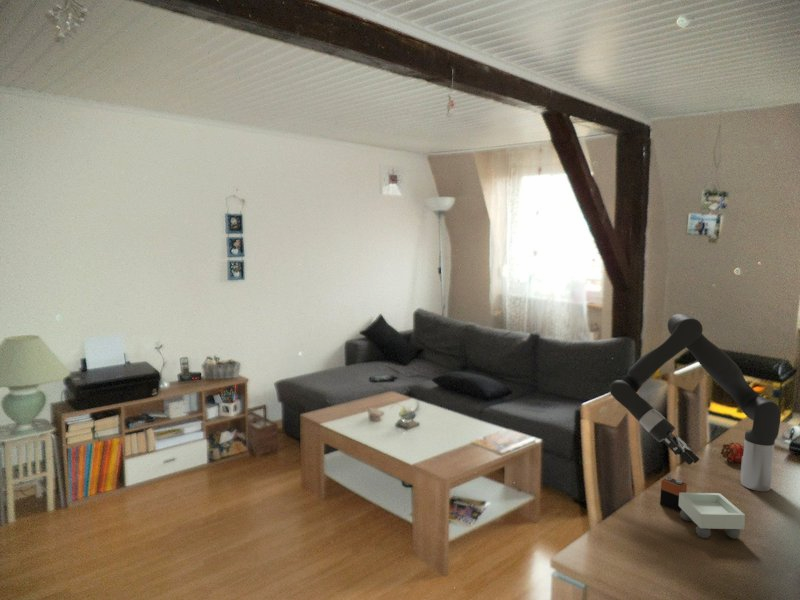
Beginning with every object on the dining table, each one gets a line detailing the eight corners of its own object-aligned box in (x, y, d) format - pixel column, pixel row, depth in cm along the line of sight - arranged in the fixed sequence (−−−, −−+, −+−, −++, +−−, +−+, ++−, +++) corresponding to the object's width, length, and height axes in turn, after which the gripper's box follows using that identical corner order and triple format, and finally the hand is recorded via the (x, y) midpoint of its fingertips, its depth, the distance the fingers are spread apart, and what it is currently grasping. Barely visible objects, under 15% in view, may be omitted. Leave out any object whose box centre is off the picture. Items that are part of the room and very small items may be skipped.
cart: (677, 516, 181) (679, 492, 180) (717, 517, 181) (719, 493, 180) (699, 540, 167) (701, 514, 166) (743, 541, 167) (745, 515, 166)
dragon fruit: (723, 467, 224) (736, 465, 231) (743, 461, 218) (756, 458, 225) (713, 447, 227) (726, 445, 234) (732, 440, 222) (745, 438, 229)
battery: (679, 512, 184) (681, 484, 183) (659, 504, 190) (661, 477, 188) (685, 508, 187) (687, 480, 186) (665, 501, 192) (667, 473, 191)
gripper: (659, 417, 188) (698, 455, 178) (669, 417, 198) (707, 453, 189) (643, 432, 190) (681, 471, 181) (654, 431, 201) (691, 468, 192)
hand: (694, 462), depth 185 cm, fingers open, 8 cm apart
